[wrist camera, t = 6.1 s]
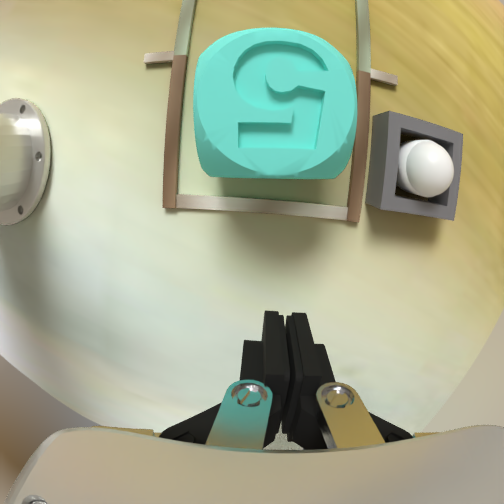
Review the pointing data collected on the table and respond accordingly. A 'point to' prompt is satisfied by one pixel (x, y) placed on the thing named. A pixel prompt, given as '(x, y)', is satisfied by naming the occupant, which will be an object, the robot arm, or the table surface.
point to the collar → (386, 165)
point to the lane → (253, 204)
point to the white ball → (424, 168)
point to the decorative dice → (274, 106)
